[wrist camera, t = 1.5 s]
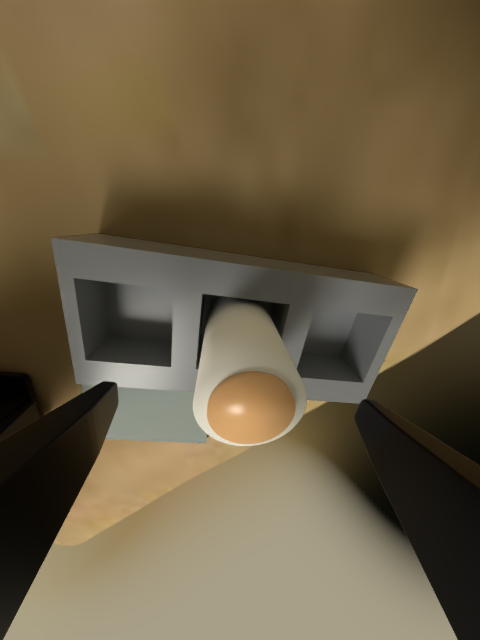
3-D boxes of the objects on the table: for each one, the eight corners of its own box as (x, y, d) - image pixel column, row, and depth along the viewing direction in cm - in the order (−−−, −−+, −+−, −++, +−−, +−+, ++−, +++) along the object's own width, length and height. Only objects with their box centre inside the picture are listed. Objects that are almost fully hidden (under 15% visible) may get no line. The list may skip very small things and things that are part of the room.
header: (108, 348, 16) (75, 384, 13) (97, 233, 13) (50, 237, 10) (336, 368, 19) (363, 403, 15) (372, 273, 16) (417, 289, 12)
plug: (205, 340, 16) (187, 451, 8) (210, 284, 14) (195, 358, 6) (260, 345, 16) (294, 455, 9) (272, 292, 15) (324, 369, 7)
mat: (93, 433, 20) (89, 438, 19) (81, 357, 17) (77, 361, 16) (206, 438, 21) (206, 443, 20) (215, 368, 18) (215, 372, 17)
